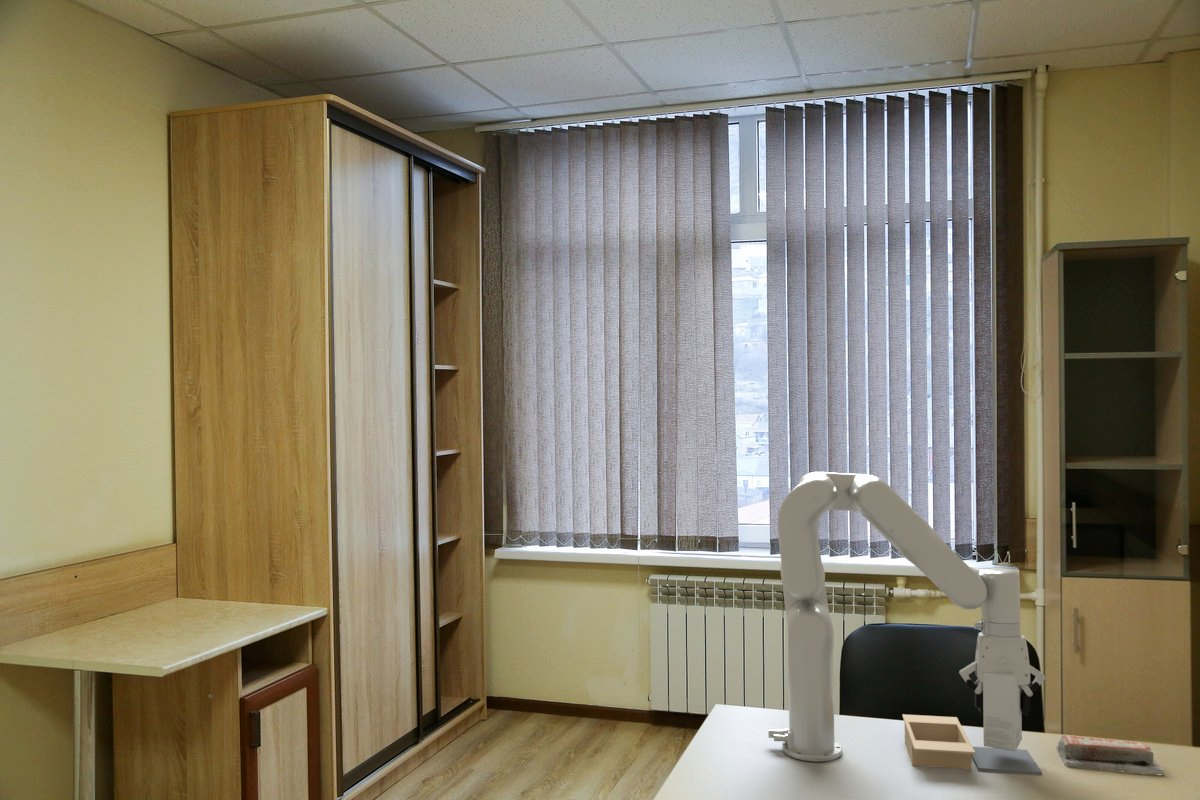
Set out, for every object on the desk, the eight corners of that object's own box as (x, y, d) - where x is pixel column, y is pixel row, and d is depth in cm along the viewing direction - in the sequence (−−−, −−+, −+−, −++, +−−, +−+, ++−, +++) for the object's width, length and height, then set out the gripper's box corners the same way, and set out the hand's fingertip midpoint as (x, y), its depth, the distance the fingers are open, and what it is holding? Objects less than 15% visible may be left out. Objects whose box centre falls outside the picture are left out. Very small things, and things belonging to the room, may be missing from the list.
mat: (978, 770, 185) (978, 767, 185) (967, 748, 197) (967, 746, 197) (1042, 775, 183) (1042, 772, 183) (1026, 752, 195) (1026, 749, 195)
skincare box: (991, 734, 195) (989, 661, 195) (1024, 739, 192) (1022, 665, 192) (982, 746, 188) (980, 671, 188) (1017, 753, 185) (1015, 676, 185)
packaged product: (1064, 745, 187) (1055, 729, 196) (1065, 769, 187) (1055, 751, 196) (1164, 754, 182) (1149, 736, 191) (1164, 778, 182) (1150, 759, 191)
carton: (914, 773, 185) (914, 748, 185) (902, 736, 205) (902, 714, 205) (975, 777, 182) (975, 752, 182) (957, 739, 203) (956, 717, 203)
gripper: (960, 631, 188) (961, 716, 188) (1050, 634, 185) (1052, 720, 185) (953, 622, 196) (955, 704, 196) (1040, 625, 192) (1042, 708, 192)
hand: (1002, 711), depth 190 cm, fingers closed on skincare box, 8 cm apart
